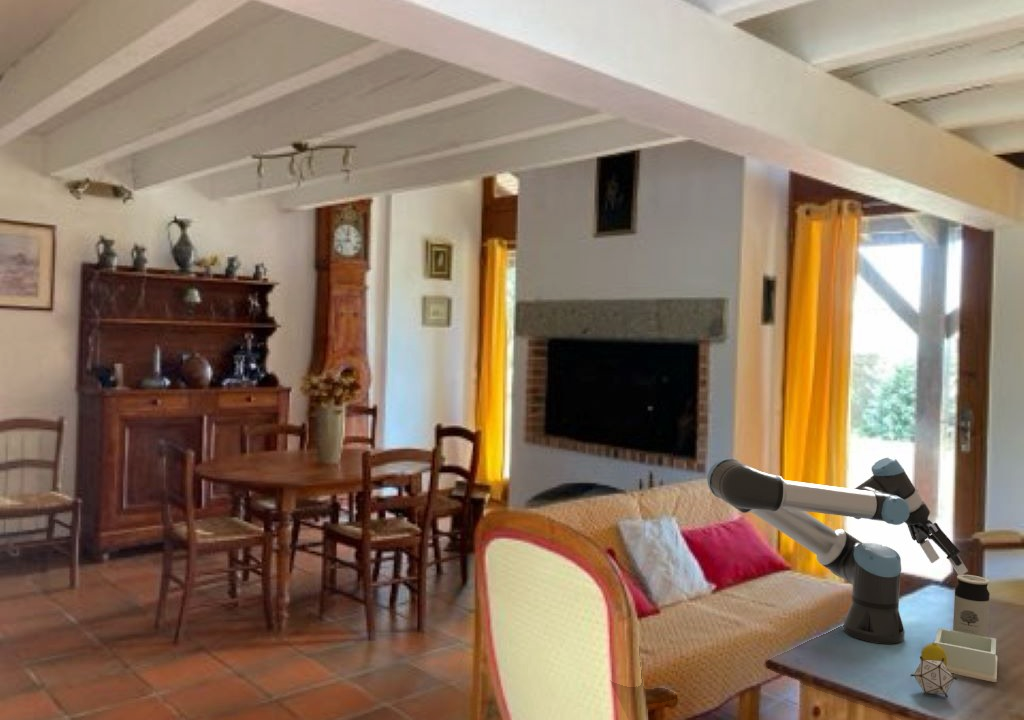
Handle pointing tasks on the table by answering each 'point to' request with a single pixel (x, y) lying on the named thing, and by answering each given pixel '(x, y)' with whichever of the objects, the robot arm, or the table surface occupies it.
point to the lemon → (933, 653)
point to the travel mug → (971, 605)
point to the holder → (969, 654)
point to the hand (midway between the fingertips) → (949, 566)
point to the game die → (934, 676)
